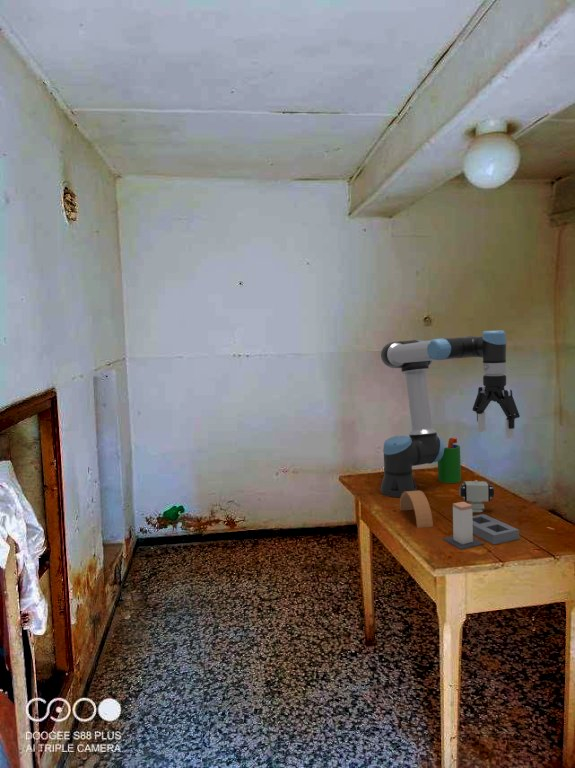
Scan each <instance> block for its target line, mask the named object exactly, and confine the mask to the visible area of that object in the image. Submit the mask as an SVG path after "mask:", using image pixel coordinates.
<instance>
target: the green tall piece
mask: <svg viewBox="0 0 575 768" xmlns="http://www.w3.org/2000/svg"><path fill="white" fill-rule="evenodd" d="M457 443H458V439H457V438H456V437H454V436H453V437H450V438H448V443H447V447H444V454H443V456H442V457H441V459H440V460H439V461H437V480H438V482H440V483H443V484H444V483H445V484H456V483H460V482H462V468H461V463H462V462H461V445H459V444H457Z"/></svg>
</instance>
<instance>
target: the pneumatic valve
mask: <svg viewBox="0 0 575 768" xmlns="http://www.w3.org/2000/svg"><path fill="white" fill-rule="evenodd" d="M461 484H462V485H461ZM461 484H460V485H459V486H458V492H459V497H460V498H463V500H464V502H469V504H470V505H472V514H475V513H477V514H478V513H481V514H482V513H484V512H483V511H485V504H484V503H482V502H491V499H492V498H494V497H495V490H494V489H495V488H494V485H491V484H490V482H489V481H478V480H477V479H474V480H473V481H470V480H469V481H467V480H466V481H465V480H463V481H462V483H461Z"/></svg>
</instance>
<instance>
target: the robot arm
mask: <svg viewBox="0 0 575 768" xmlns="http://www.w3.org/2000/svg"><path fill="white" fill-rule="evenodd" d="M506 337H507V335H506V332H505V330H501V329H499V330H484V331H482V336H471V335H470V336H464V337H446V338H442V337H439V338H434V339H431V340H417V339H412V340H403V341H402V340H400V341H397V340H396V341H391V342H389V343H387V344H385V345H384V346H383V347H382V349H381V351H380V359H381V361H382V363H383V364H384V365H385V366H387V367H388V368H390V369H391V368H392V369H401V370H400V371H401V374H403V375H404V376H405V380H406V389H407V397H408V406H409V414H410V422H411V431H410V432H409V433H408V435H397V436H391V437H389V438H387V439H386V440H384V443H383V449H382V452H383V469H384V471H383V472H384V473H383V478H382V481H381V485H380V493H381V494H383V495H384V496H387V497H393V498H401V495H402V493H403V492H406V491H418V487H417V484H416V481H415V478H414V476H413V467H415V466H420V465H422V466H423V465H426V464H429V465H430V464H433V463H438V461H439V460H440V459H441V457H442V456H443V454H444V448H445V444H444V441H443V440H442V439H443V438H442V437H441V436H439V435H438V434H437V431H436V430H435V429H434V428H433V422H432V414H431V407H430V398H429V389H428V381H427V373H428V371H429V370H430V368H429V366H430V365H431V364H432V363H433V361H443V360H453V359H466V358H467V359H468V358H482V373H483V374H484V375H483V376H482V385H483V386H479V387H478V390H477V396H476V398H475V401H474V404H473V407H472V411H473V412H475V413H476V421H477V432H478V433H480V432H481V433H482V432H486V412H485V410H487V408H488V406H489V404H490V403H491V402H496V404H498V405H499V406H500V408H501V410H502V411H503V413H504V415H505V417H506V419H504V420H505V426H504V427H505V439H511V438H514V429H515V420H516V419H518V418H520V417H521V415H520V412H519V410H518V407H517V405H516V402H515V399H514V397H513V389H505V387H506V386H507V375H506V374H507V338H506Z"/></svg>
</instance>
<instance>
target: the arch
mask: <svg viewBox="0 0 575 768" xmlns="http://www.w3.org/2000/svg"><path fill="white" fill-rule="evenodd" d="M399 498H400V499H399V511H411V510H413V511H414V515H415V519H416V520H415V521H416V528H417V529H419V528H430V527H431V528H432V527H434V522H433V515H432V511H431V506H430V503H429V500H428V499H427V496H426V495H425V493H424V492H423V491H422V490H417V491H406V492H403V493H402V495H401V497H399Z"/></svg>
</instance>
